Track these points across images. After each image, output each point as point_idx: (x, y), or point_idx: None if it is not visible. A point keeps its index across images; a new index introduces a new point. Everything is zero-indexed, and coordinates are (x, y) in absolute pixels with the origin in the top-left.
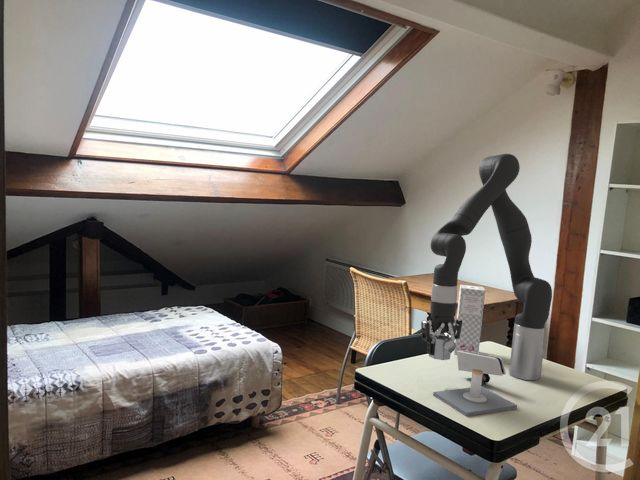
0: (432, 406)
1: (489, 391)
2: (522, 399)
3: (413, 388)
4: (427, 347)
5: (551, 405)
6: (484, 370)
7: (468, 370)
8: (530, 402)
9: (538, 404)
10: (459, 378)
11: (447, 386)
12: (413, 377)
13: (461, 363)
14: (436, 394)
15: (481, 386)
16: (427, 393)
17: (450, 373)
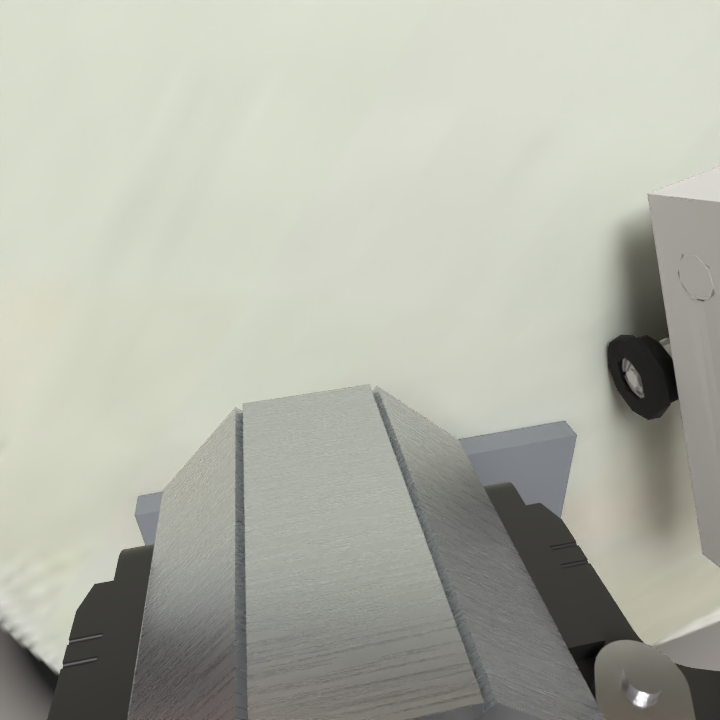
0: (52, 623)
1: (549, 506)
2: (660, 535)
3: (9, 381)
4: (66, 677)
5: (717, 582)
6: (703, 457)
7: (670, 307)
8: (661, 561)
9: (673, 576)
10: (590, 212)
11: (357, 361)
12: (120, 115)
13: (703, 245)
14: (144, 536)
15: (572, 438)
16: (105, 468)
17: (617, 69)
